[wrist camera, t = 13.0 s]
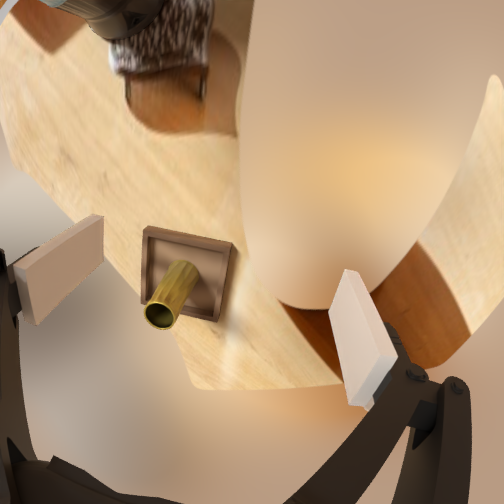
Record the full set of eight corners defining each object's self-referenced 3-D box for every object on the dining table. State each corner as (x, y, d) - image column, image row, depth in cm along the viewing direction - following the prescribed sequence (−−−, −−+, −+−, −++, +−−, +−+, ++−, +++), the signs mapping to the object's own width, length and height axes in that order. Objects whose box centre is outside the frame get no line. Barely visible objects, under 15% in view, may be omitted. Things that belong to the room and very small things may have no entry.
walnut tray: (148, 225, 54) (143, 229, 52) (232, 242, 54) (230, 248, 52) (145, 297, 61) (140, 303, 58) (219, 315, 61) (217, 322, 58)
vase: (201, 263, 56) (180, 305, 43) (196, 291, 58) (176, 336, 45) (170, 255, 56) (141, 294, 43) (166, 283, 58) (140, 325, 45)
